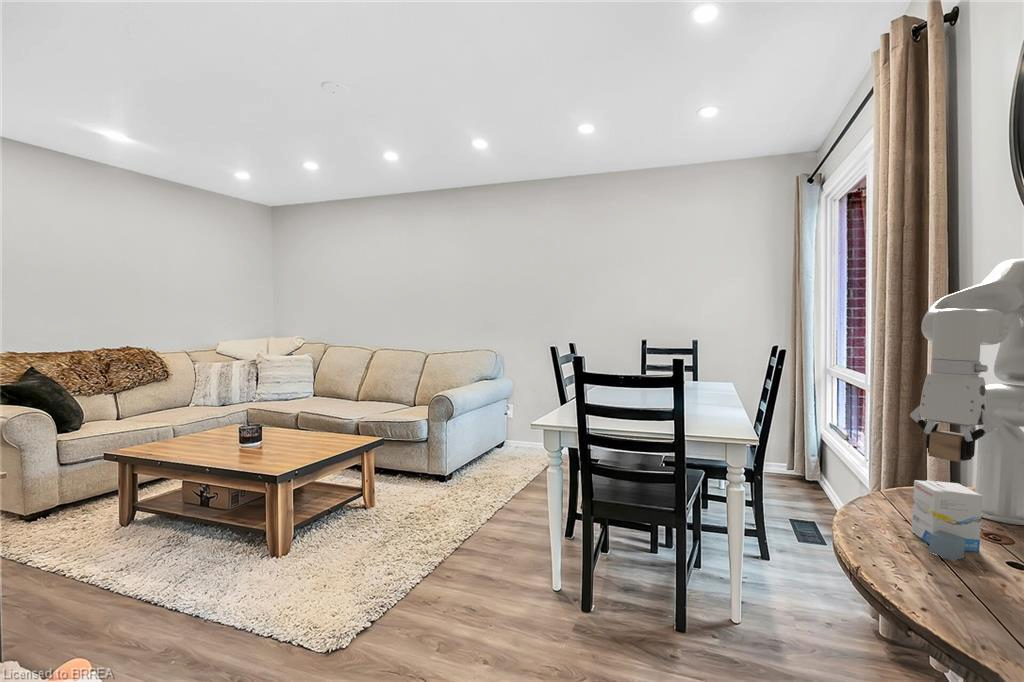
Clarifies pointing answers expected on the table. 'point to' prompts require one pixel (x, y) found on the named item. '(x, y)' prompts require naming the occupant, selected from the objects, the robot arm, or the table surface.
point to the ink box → (947, 511)
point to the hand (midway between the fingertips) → (949, 455)
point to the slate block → (947, 545)
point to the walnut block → (946, 445)
